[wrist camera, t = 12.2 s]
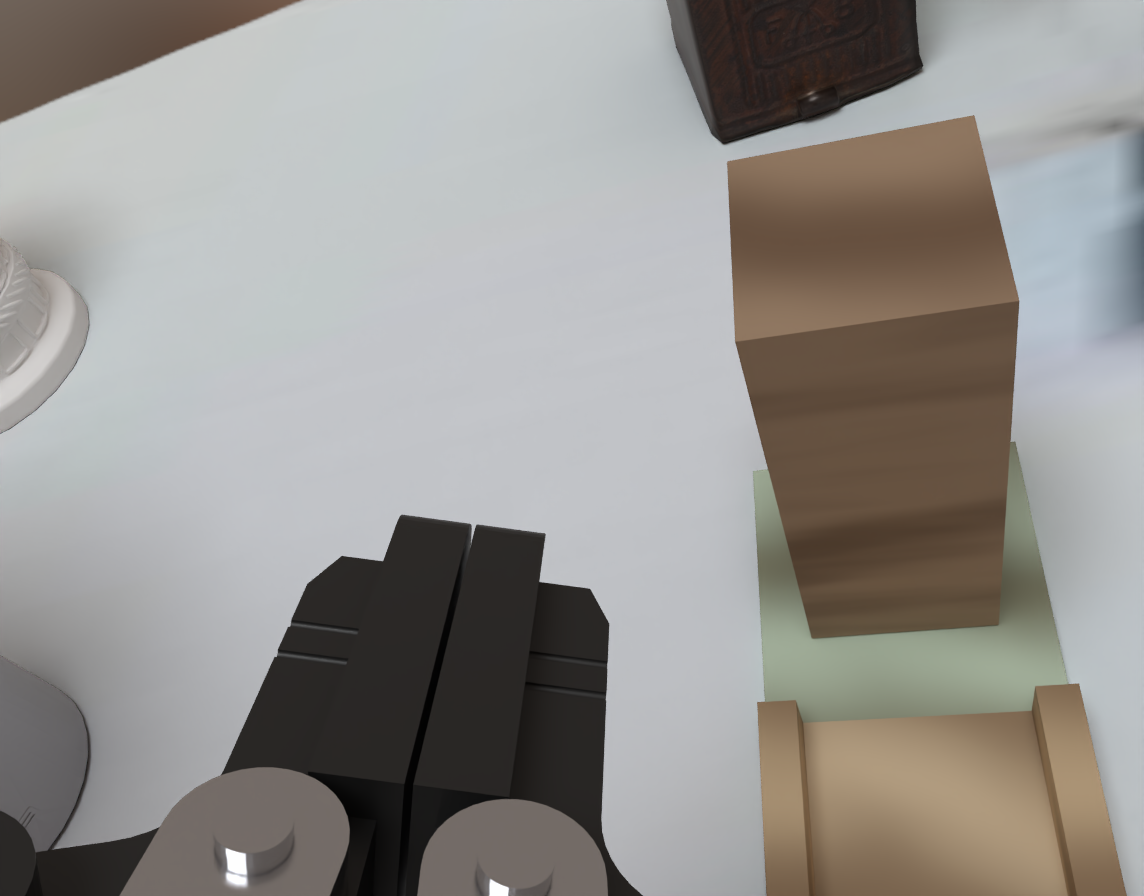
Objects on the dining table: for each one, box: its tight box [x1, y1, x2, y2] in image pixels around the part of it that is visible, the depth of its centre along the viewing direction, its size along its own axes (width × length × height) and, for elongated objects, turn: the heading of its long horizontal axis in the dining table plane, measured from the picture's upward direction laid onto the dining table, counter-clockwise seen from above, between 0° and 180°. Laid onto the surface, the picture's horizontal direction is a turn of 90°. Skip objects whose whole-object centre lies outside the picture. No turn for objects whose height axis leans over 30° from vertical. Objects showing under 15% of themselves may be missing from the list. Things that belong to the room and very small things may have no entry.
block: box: [727, 115, 1019, 638], centre depth 32 cm, size 6×6×16 cm
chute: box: [753, 442, 1126, 896], centre depth 33 cm, size 23×9×3 cm, turn 178°
